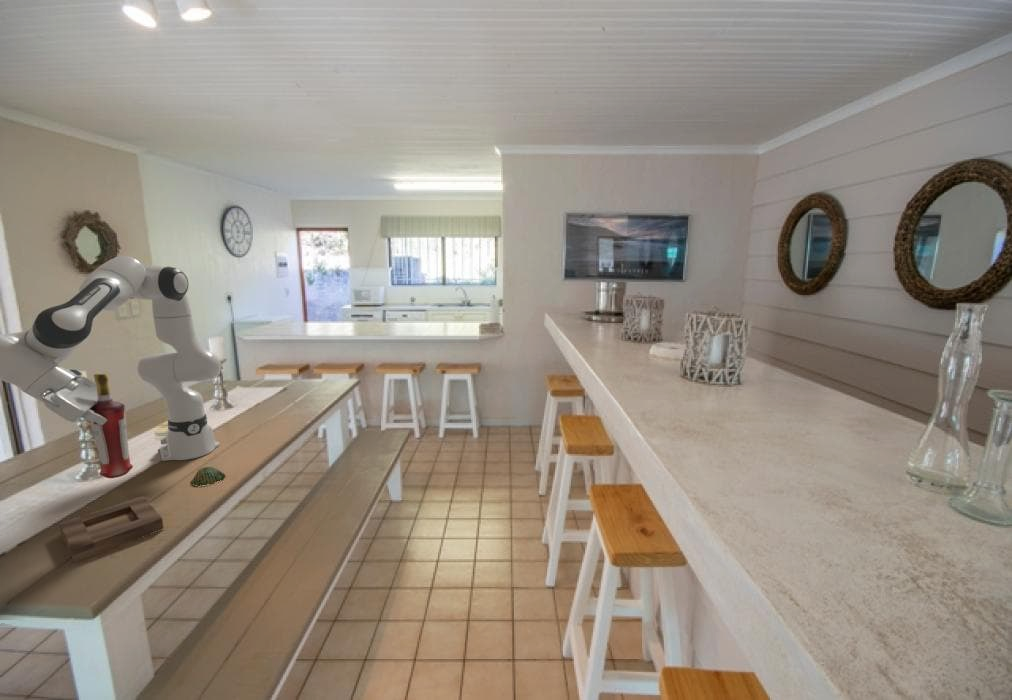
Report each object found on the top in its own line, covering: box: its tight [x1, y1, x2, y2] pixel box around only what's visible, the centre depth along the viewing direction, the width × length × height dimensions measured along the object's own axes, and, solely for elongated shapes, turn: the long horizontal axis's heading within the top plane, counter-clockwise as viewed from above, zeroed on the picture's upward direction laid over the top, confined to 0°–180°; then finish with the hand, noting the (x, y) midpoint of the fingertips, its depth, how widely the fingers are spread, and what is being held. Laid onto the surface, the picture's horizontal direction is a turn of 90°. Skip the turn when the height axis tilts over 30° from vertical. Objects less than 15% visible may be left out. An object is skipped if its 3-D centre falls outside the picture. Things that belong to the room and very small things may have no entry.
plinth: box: [59, 495, 164, 564], centre depth 121 cm, size 18×18×4 cm
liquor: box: [89, 372, 134, 479], centre depth 119 cm, size 7×7×28 cm
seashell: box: [190, 466, 227, 487], centre depth 150 cm, size 10×4×10 cm
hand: (110, 417), depth 119 cm, fingers closed on liquor, 7 cm apart
